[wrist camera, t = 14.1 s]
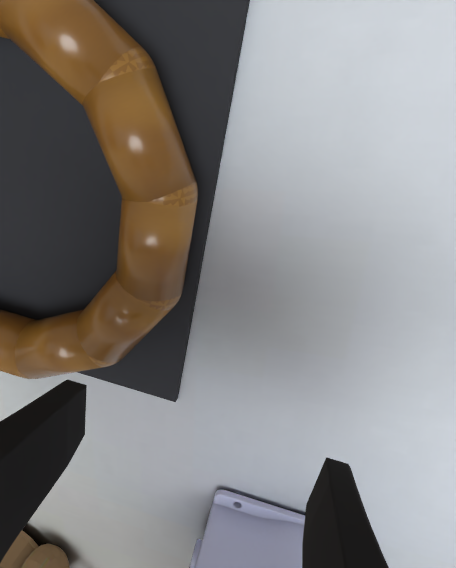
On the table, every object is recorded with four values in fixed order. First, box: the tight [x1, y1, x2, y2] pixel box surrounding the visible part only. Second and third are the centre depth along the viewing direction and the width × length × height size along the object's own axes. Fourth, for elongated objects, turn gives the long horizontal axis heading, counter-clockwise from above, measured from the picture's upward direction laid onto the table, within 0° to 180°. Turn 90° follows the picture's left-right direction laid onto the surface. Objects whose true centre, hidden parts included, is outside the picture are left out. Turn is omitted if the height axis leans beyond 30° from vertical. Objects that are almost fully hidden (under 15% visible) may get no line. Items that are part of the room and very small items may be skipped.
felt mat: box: [0, 0, 250, 402], centre depth 20 cm, size 20×20×1 cm
